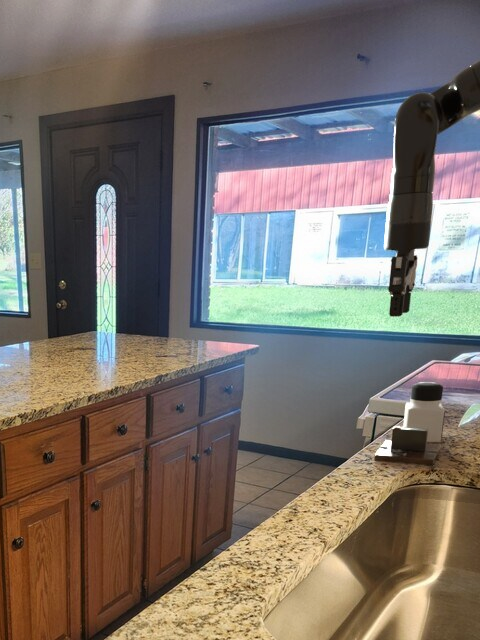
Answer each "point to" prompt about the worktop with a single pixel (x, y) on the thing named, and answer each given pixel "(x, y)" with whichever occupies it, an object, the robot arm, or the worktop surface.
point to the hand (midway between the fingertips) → (399, 314)
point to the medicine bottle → (426, 410)
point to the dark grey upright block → (409, 438)
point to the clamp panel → (407, 454)
